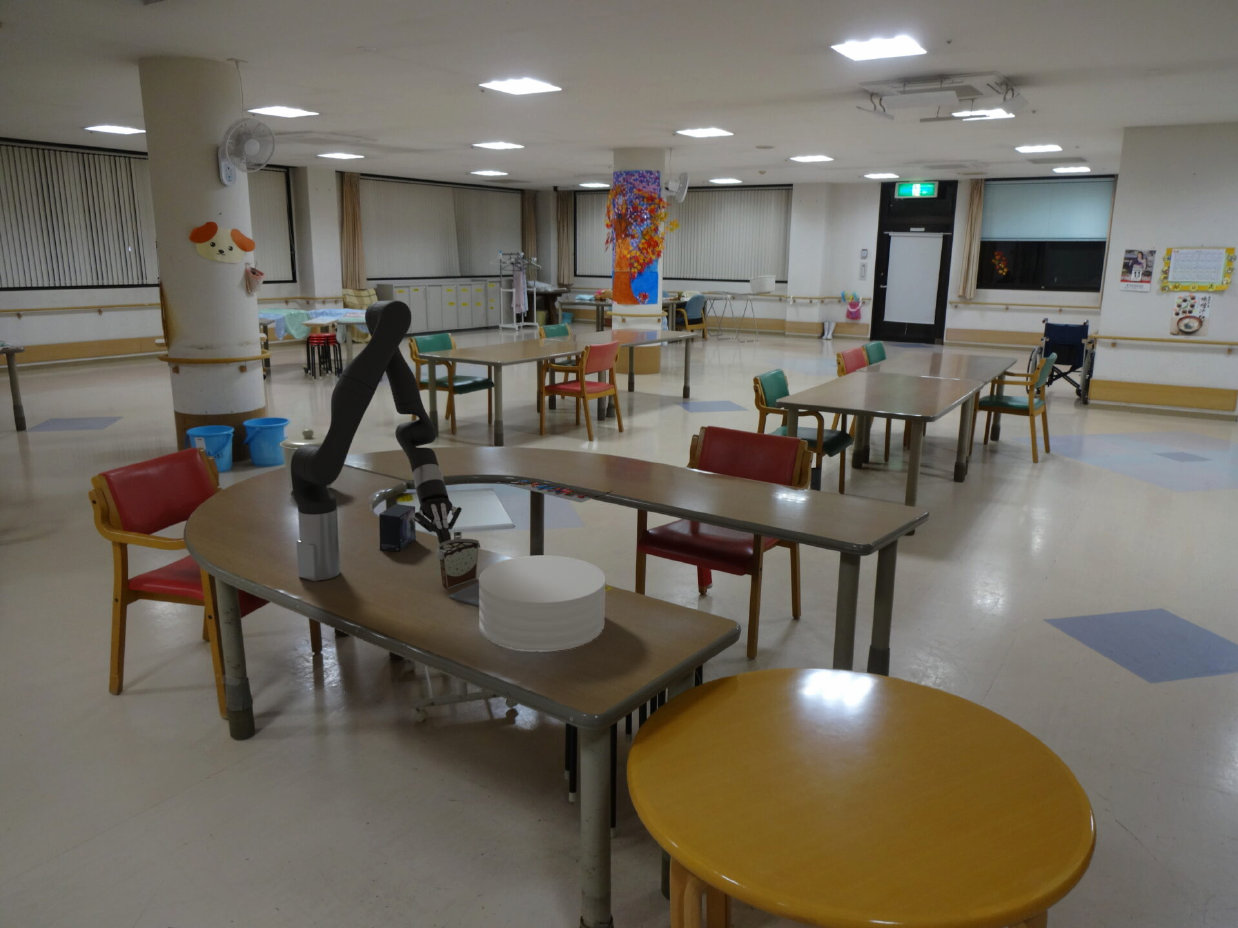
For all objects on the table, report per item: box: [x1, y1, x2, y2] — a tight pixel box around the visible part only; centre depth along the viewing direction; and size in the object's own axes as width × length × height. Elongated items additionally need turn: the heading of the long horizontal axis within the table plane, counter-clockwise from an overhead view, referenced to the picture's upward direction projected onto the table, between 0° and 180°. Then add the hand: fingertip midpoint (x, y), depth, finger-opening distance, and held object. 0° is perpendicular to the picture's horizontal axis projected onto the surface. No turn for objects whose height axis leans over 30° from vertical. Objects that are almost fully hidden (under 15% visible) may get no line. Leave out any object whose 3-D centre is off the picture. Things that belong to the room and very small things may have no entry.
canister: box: [279, 428, 333, 491], centre depth 288 cm, size 18×18×21 cm
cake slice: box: [435, 538, 481, 590], centre depth 215 cm, size 12×6×10 cm, turn 141°
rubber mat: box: [449, 581, 480, 607], centre depth 211 cm, size 18×10×1 cm, turn 149°
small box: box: [378, 503, 417, 553], centre depth 239 cm, size 11×6×10 cm, turn 168°
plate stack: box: [478, 554, 606, 650], centre depth 192 cm, size 28×28×12 cm
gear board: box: [496, 480, 594, 503], centre depth 306 cm, size 45×2×19 cm
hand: (446, 543), depth 218 cm, fingers closed
